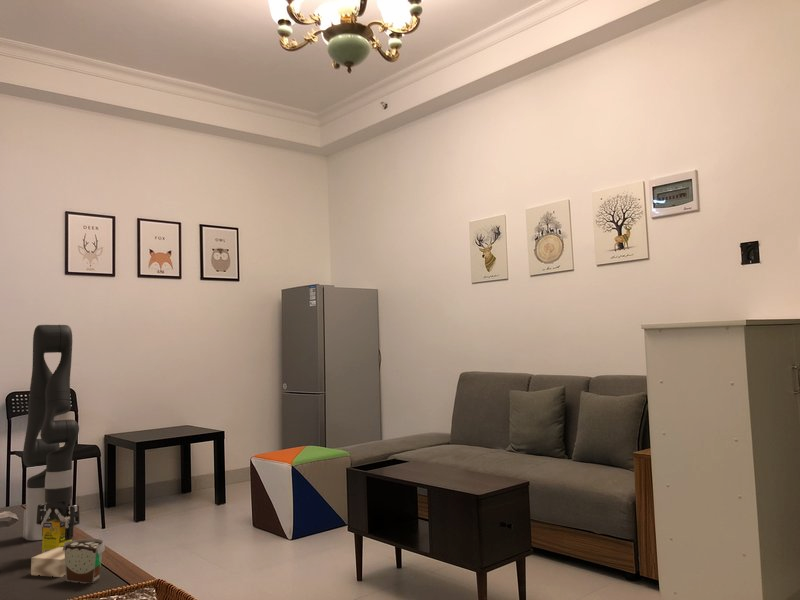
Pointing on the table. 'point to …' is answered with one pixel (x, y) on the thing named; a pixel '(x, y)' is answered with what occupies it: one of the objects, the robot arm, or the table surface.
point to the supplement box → (53, 535)
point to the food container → (83, 560)
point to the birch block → (49, 563)
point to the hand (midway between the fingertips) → (57, 539)
